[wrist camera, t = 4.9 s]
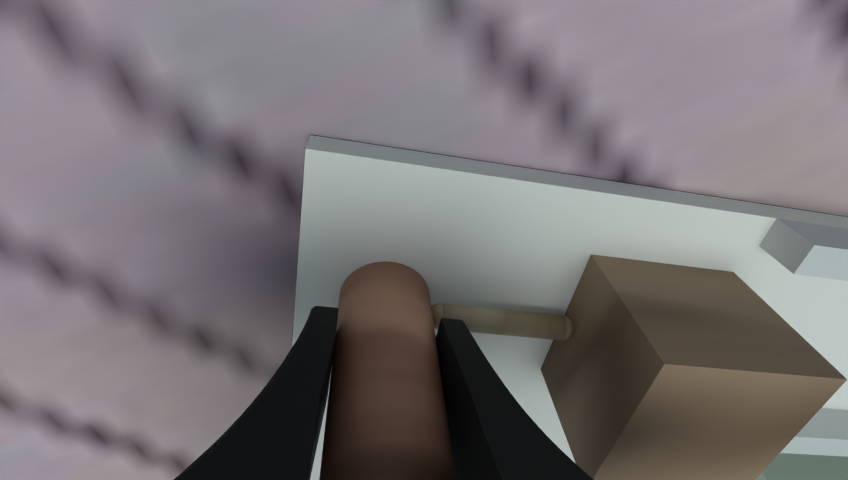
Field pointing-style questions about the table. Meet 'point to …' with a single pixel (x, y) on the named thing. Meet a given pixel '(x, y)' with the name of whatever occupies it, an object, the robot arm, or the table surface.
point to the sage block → (806, 467)
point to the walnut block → (582, 374)
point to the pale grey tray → (558, 253)
